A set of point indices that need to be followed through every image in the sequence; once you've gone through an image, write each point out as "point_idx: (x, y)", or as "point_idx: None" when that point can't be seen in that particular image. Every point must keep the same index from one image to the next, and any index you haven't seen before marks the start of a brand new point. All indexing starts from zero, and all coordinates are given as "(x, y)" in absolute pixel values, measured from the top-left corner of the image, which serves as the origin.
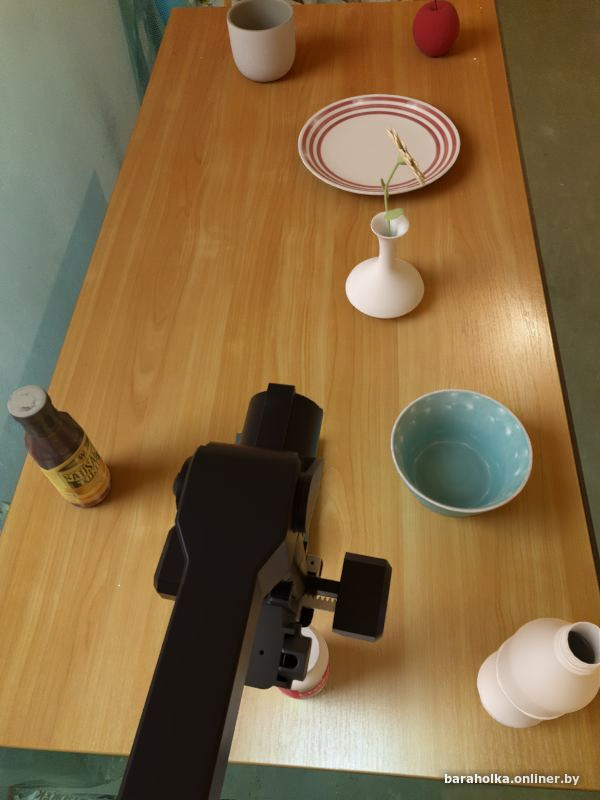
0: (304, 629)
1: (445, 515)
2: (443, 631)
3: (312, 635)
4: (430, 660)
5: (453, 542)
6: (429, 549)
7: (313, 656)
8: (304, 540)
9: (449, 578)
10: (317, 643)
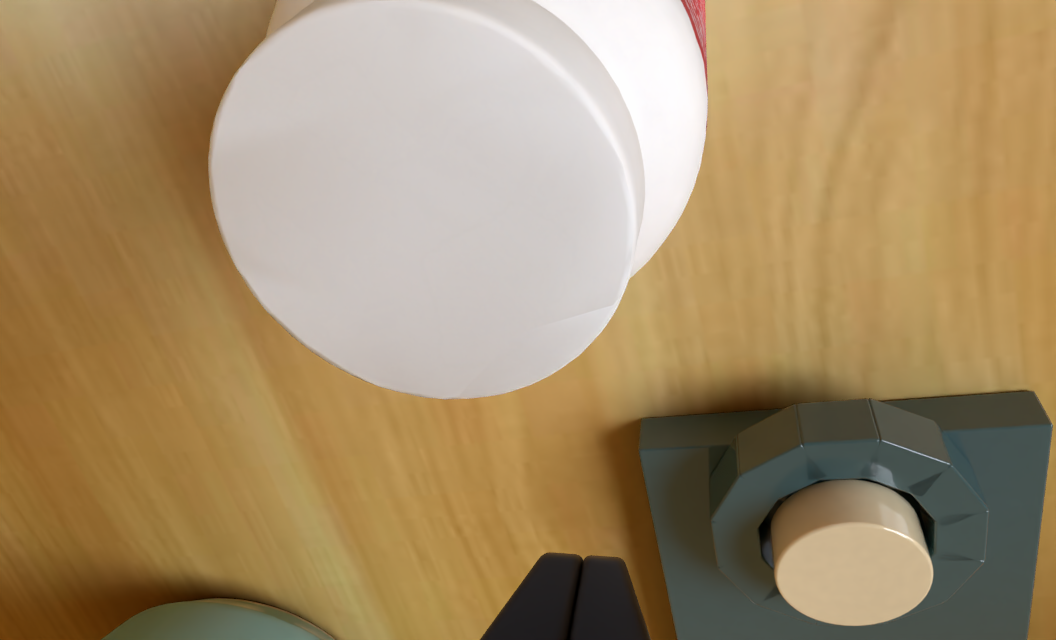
0: (395, 370)
1: (207, 613)
2: (81, 269)
3: (322, 341)
4: (72, 163)
5: (180, 520)
6: (238, 496)
7: (246, 204)
8: (663, 506)
9: (143, 426)
10: (263, 297)
